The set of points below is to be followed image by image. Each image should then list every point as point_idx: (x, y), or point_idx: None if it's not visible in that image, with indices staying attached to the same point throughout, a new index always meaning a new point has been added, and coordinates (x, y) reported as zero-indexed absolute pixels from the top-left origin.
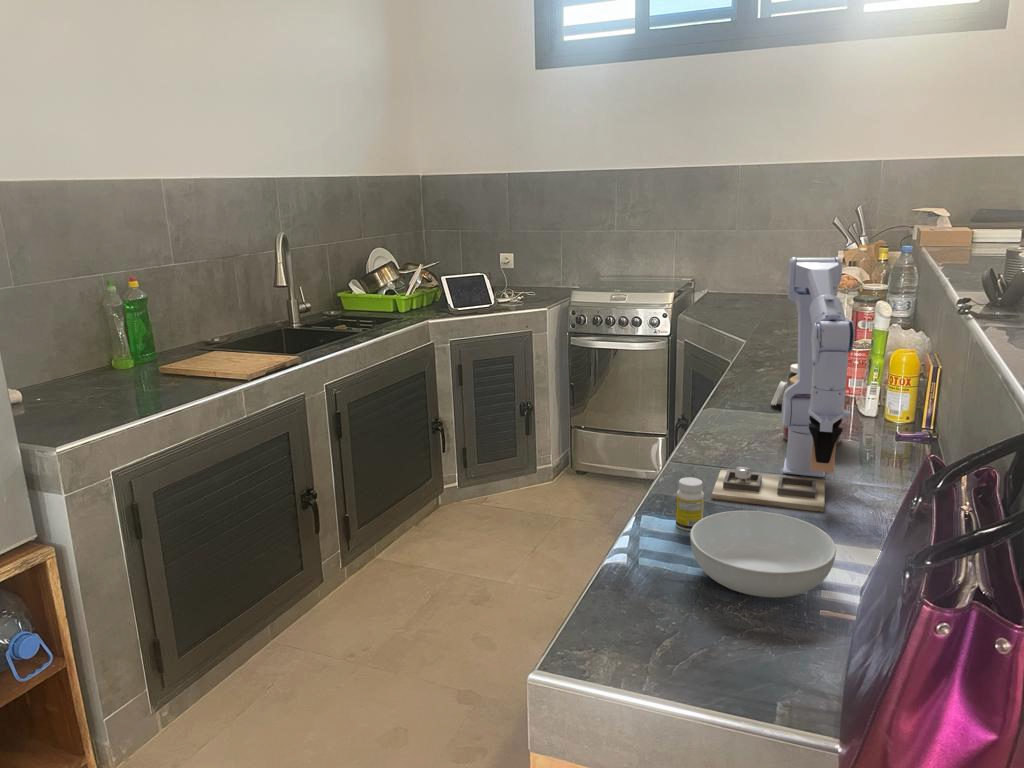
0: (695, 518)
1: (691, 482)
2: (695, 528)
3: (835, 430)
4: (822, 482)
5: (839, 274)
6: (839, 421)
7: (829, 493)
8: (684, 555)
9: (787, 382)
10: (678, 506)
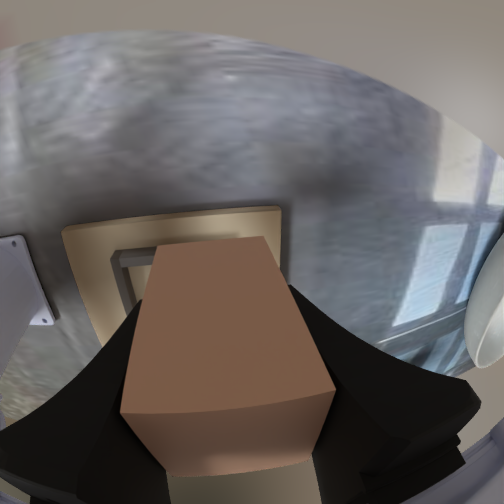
0: None
1: None
2: (492, 360)
3: (464, 424)
4: (77, 235)
5: None
6: (93, 481)
7: (117, 204)
8: (448, 348)
9: None
10: None
